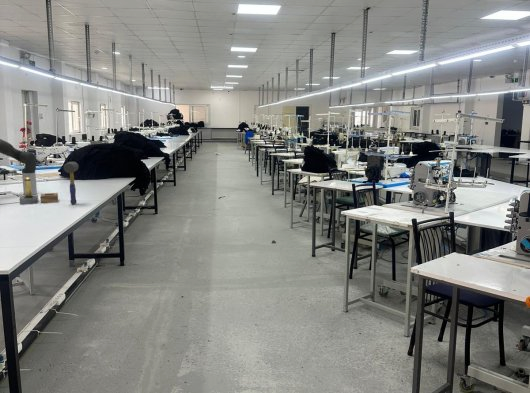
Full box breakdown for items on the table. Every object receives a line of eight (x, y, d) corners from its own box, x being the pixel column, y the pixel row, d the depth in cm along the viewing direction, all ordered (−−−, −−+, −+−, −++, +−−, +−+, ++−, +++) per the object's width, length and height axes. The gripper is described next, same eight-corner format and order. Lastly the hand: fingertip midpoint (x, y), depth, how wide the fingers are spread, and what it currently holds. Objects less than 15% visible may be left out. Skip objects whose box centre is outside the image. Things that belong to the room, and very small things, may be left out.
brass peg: (26, 202, 307) (24, 177, 304) (32, 201, 309) (30, 177, 306) (25, 203, 304) (23, 178, 301) (32, 202, 305) (30, 177, 302)
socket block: (21, 201, 309) (20, 196, 309) (38, 200, 314) (38, 195, 313) (19, 204, 299) (19, 198, 298) (37, 203, 303) (37, 197, 303)
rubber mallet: (76, 206, 297) (74, 162, 292) (65, 206, 296) (62, 162, 290) (81, 202, 309) (78, 160, 304) (70, 202, 308) (67, 160, 302)
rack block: (41, 200, 315) (41, 193, 314) (58, 199, 319) (57, 192, 319) (40, 203, 304) (40, 196, 303) (58, 202, 309) (57, 195, 308)
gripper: (-22, 168, 284) (6, 167, 291) (-18, 166, 297) (9, 165, 304) (-21, 179, 285) (7, 178, 292) (-17, 177, 298) (10, 176, 305)
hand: (8, 172), depth 298 cm, fingers open, 8 cm apart
